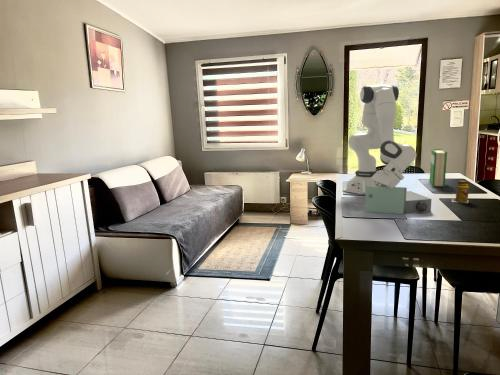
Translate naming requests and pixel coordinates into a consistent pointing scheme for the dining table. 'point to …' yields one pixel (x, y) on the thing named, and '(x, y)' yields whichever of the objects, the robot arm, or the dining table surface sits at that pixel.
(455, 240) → the dining table surface
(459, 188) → the condiment
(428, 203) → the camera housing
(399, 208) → the side door
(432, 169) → the hardback book
